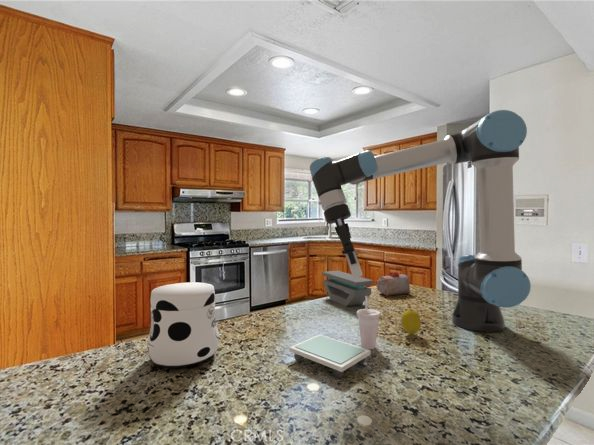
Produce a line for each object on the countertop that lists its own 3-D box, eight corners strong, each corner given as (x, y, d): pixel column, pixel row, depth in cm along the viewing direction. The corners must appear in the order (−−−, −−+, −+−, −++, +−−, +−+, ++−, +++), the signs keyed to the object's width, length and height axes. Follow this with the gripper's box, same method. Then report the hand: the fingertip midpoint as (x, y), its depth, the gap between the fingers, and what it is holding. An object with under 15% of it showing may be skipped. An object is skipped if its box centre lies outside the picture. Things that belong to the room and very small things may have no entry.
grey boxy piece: (386, 297, 145) (386, 274, 144) (375, 293, 152) (375, 271, 152) (411, 294, 149) (411, 272, 149) (400, 290, 157) (400, 269, 157)
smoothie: (354, 342, 94) (353, 293, 94) (375, 341, 95) (375, 293, 94) (360, 351, 88) (360, 299, 87) (383, 350, 88) (383, 299, 88)
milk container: (232, 350, 89) (231, 284, 88) (186, 380, 73) (184, 300, 73) (183, 340, 96) (182, 279, 96) (131, 365, 81) (130, 292, 80)
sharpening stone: (373, 308, 128) (373, 280, 127) (356, 311, 124) (356, 282, 124) (337, 294, 150) (337, 270, 150) (322, 296, 147) (322, 271, 146)
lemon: (422, 339, 96) (422, 312, 96) (402, 338, 97) (402, 311, 97) (419, 332, 102) (419, 306, 101) (400, 331, 103) (400, 305, 103)
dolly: (370, 364, 81) (370, 349, 81) (341, 382, 72) (341, 366, 72) (319, 346, 92) (319, 333, 91) (289, 360, 83) (289, 346, 83)
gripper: (327, 219, 111) (347, 280, 106) (317, 202, 87) (343, 280, 82) (348, 211, 110) (370, 273, 105) (344, 192, 86) (372, 271, 81)
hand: (358, 276), depth 94 cm, fingers open, 13 cm apart
